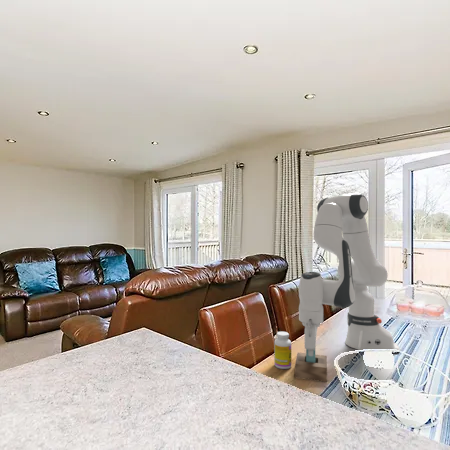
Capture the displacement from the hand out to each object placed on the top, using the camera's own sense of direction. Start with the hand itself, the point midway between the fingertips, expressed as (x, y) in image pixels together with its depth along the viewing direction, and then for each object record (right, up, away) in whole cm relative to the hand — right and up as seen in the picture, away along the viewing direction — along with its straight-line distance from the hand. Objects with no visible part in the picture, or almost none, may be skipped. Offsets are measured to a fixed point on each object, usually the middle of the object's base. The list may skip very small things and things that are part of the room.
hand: (311, 353), depth 118 cm
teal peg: (0, -5, 0) cm, 5 cm away
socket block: (0, -8, 0) cm, 8 cm away
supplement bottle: (-10, -8, +6) cm, 14 cm away
